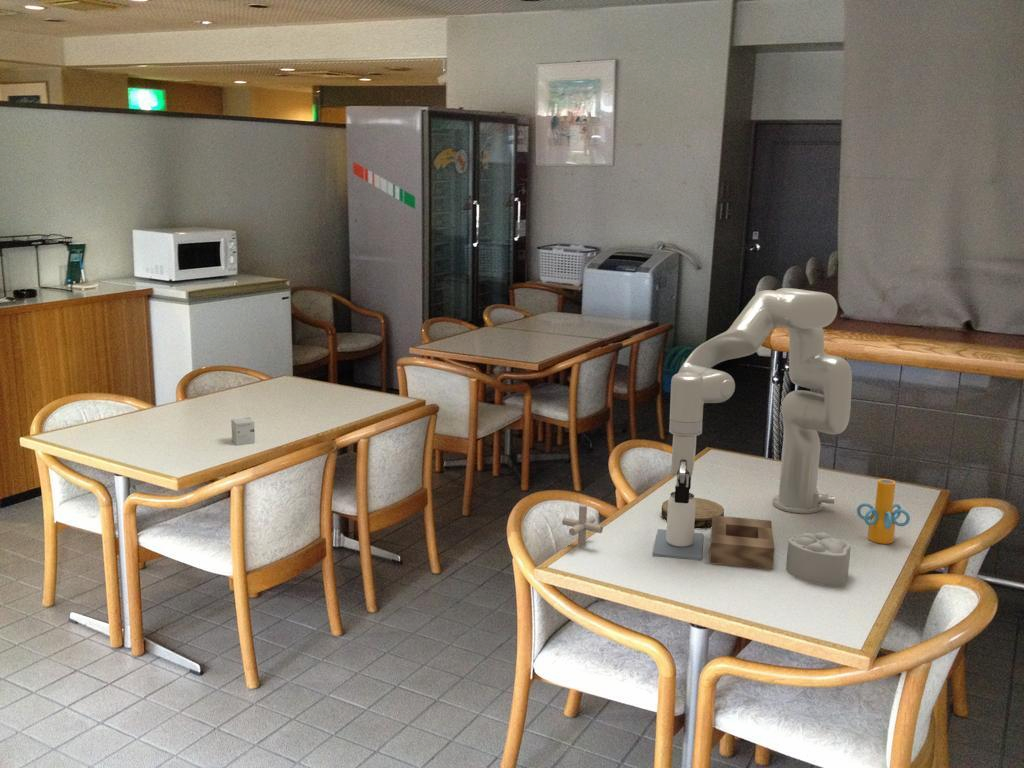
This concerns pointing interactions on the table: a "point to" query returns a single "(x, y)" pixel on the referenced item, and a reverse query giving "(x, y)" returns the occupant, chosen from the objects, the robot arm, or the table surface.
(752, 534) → the housing block
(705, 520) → the wooden disc
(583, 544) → the pipe connector
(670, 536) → the can
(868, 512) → the cylinder
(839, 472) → the table surface
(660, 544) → the rubber mat
